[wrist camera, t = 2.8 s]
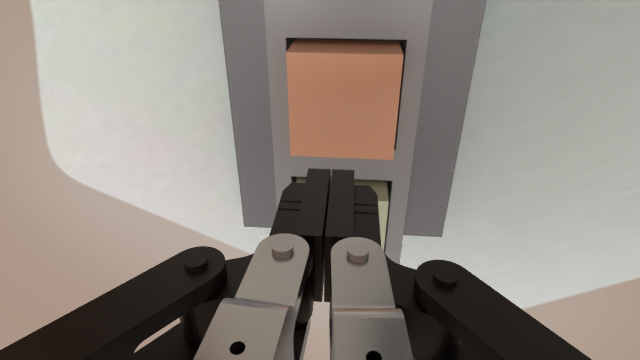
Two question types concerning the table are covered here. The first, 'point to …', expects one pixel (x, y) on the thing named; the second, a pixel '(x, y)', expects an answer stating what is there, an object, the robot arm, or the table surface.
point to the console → (413, 110)
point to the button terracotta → (343, 97)
